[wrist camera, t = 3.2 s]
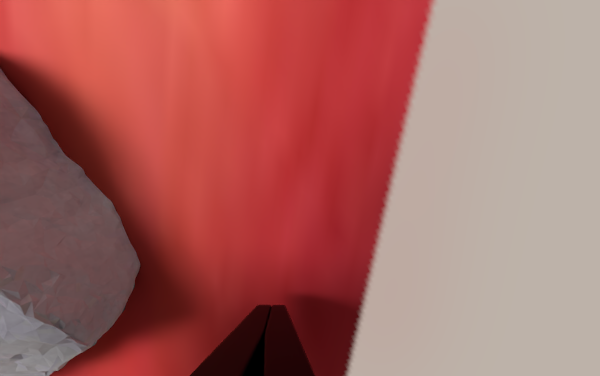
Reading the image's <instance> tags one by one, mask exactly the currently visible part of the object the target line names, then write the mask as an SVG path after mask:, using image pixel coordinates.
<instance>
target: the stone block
mask: <svg viewBox="0 0 600 376" xmlns="http://www.w3.org/2000/svg"><path fill="white" fill-rule="evenodd" d="M139 269H140V262H139V259H138V257H137V253H136V251H135V249H134V248H133V246H132V245H131V243H130V241H129V239H128V236H127V234H126V232H125V229H124V227H123V224H122V221H121V218H120V216H119V215H118V213H117V212H116V210H115V207H114V205H113V203H112V202H111V200H110V199H108V198H107V197H106V196H105V195H104V194H103V193H102V192H101V191H100V190H99V189H98V188H97V187H96V186H95V185H94V184H93V183H92V181H91V180H90V179H89V178H88V177H87V176H86V175H85V173H84V170H83V169H82V167H80V166H79V165H78V164H76V163H75V162H74V161H72V160H71V159H70V158H68V157H67V156H66V155H65V154H64V153H63V151H62V150H61V148H60V147H59V145H58V143H57V142H56V141H55V140H54V139H53V137H52V135H51V133H50V131H49V129H48V126H47V125H46V124H45V123H44V122H43V120H42V118H41V116H40V114H39V113H38V111H37V110H36V109H35V108H34V107H33V106H32V105H31V104H30V103H29V102H28V101H27V100H26V99H25V98H24V97H23V96H22V95H21V94H20V93H19V91H18V90H17V89H16V88H15V87H14V86H13V85H12V83H11V82H10V81H9V80H8V79H7V77H6V75H5V74H4V72H3V71H2V70H1V68H0V376H49V375H50V374H51V373H53V372H54V371H59V370H60V369H61V368H63V367H64V366H65V365H66V364H67V362H68V361H70V360H71V359H72V358H74V357H75V356H77V355H78V354H80V353H82V352H84V351H85V350H87V349H89V348H91V347H92V346H93V345H95V344H96V343H97V340H98V339H100V338H101V337H102V335H103V334H104V333H106V332H107V331H108V330H109V329H110V328H111V327H112V326H113V324H114V323H115V321H116V320H117V319H118V317H119V316H120V315H121V313H122V312H123V311H124V310H125V306H126V303H127V301H128V298H129V296H130V294H131V293H132V291H133V289H134V287H135V278H136V276H137V274H138V272H139Z"/></svg>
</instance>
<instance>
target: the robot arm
mask: <svg viewBox="0 0 600 376" xmlns="http://www.w3.org/2000/svg"><path fill="white" fill-rule="evenodd" d="M190 376H315V375H314V373H313V370H312V368H311V365H310V363H309V361H308V358H307V356H306V354H305V351H304V349H303V347H302V344H301V342H300V339H299V337H298V335H297V332H296V330H295V328H294V325H293V323H292V321H291V318H290V316H289V313H288V311H287V309H286V307H285V306H284V305H273V306H272V307H271V305H258V306H256V307H255V309H254V310H253V311H252V312H251V313H250V314H249V315H248V316H247V317H246V318H245V319H244V320H243V321H242V322H241V323H240V324H239V325H238V326H237V327H236V328H235V329H234V330H233V331H232V332H231V333H230V334H229V335H228V337H227V338H226V339H225V340H224V341H223V342H222V343H221V344H220V345H219V346H218V347H217V348H216V349H215V350H214V351H213V352H212V353H211V354H210V355H209V356H208V357H207V358H206V359H205V360H204V361H203V362H202V363H201V365H200V366H199V367H198V368H197V369H196V370H195V371H194V372H193V373H192V374H191V375H190Z"/></svg>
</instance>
